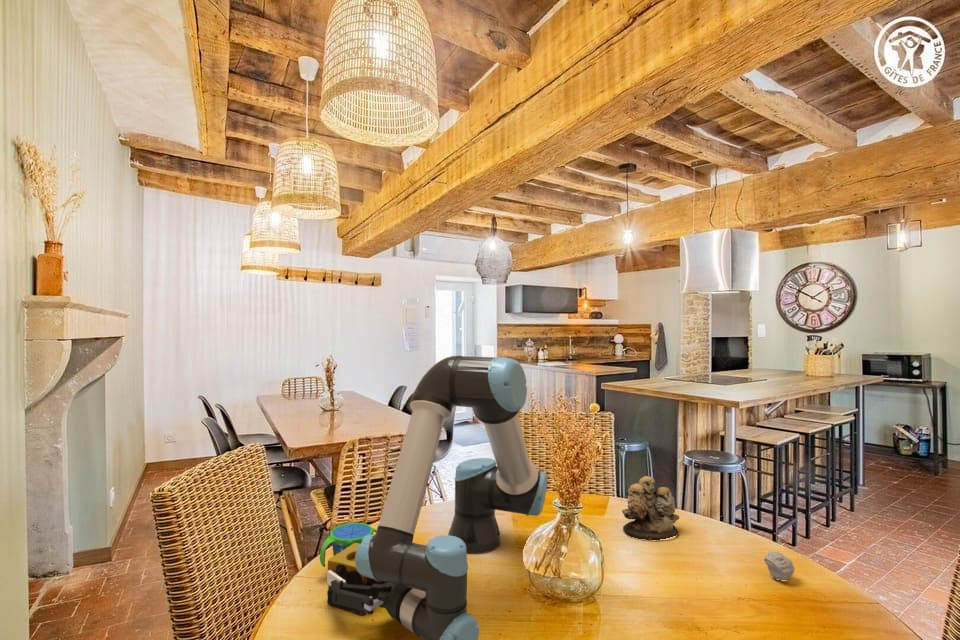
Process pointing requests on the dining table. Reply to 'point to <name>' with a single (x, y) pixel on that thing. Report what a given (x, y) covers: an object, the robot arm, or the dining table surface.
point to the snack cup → (345, 537)
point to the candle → (348, 573)
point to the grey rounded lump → (779, 566)
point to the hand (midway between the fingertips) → (354, 566)
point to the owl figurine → (650, 511)
